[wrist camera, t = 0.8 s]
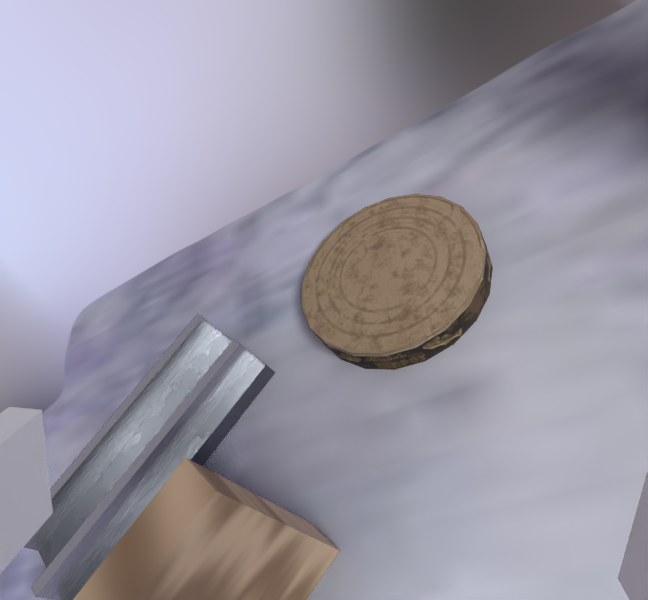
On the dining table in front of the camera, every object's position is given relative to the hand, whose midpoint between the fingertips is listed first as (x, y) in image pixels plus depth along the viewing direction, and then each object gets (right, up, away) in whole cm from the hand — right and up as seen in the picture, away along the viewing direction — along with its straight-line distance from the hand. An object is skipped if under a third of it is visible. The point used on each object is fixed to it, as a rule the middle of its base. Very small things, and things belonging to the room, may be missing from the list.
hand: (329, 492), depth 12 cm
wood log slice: (+6, +5, +35) cm, 36 cm away
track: (-15, -10, +36) cm, 40 cm away
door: (-3, -16, +24) cm, 29 cm away
